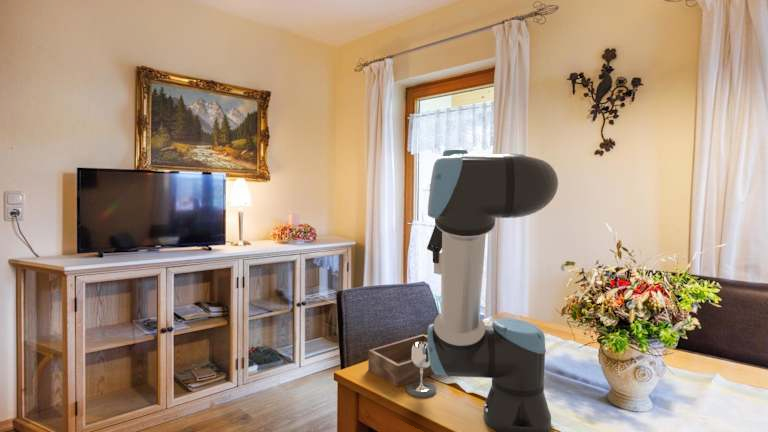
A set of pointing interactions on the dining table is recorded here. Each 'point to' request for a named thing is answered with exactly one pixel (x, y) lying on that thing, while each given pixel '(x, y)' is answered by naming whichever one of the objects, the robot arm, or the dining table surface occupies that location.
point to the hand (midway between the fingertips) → (454, 270)
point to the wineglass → (420, 362)
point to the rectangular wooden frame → (388, 355)
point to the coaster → (421, 394)
